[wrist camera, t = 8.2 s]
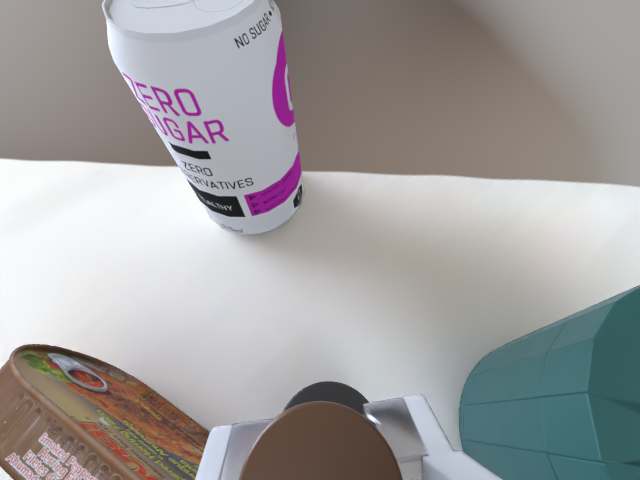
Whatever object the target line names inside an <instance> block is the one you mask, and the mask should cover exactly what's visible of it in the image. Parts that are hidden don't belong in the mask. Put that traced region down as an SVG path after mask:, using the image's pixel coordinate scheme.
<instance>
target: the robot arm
mask: <svg viewBox="0 0 640 480" xmlns="http://www.w3.org/2000/svg"><path fill="white" fill-rule="evenodd" d="M363 415H364V417H365V418H367V419H368V420H369V421H370V422H371V423H372V424H373V425H374V426H375V427H376V428H377V429H378V430H379V431H380V432H381V434H382V435H383V436H384V438H385V439H386V441H387V442H388V444H389V446H390V447H391V449H392V451H393V453H394V455H395V457H396V460H397V462H398V465H399V468H400V471H401V474H402V478H403V480H502V479H501V478H500V477H498V476H497V475H495V474H494V473H492V472H491V471H490V470H488V469H487V468H485V467H484V466H482V465H481V464H480V463H478V462H477V461H475V460H474V459H472V458H471V457H469V456H468V455H467V454H465V453H464V452H462V451H455V452H454V450H453V448H452V446H451V444H450V442H449V441H448V439H447V437H446V435H445V433H444V431H443V429H442V428H441V426H440V424H439V422H438V420H437V418H436V416H435V415H434V413H433V411H432V409H431V407H430V405H429V403H428V402H427V400H426V398H425V396H424V395H422V394H417V395H411V396H406V397H402V398H395V399H389V400H383V401H377V402H371V403H366V404H363ZM273 419H274V418H273ZM273 419H266V420H258V421H251V422H243V423H236V424H233V425H225V426H217V427H213V429H212V430H211V432H210V433H209V437H208V440H207V443H206V446H205V449H204V453H203V456H202V459H201V462H200V465H199V469H198V472H197V475H196V478H195V480H239V476H240V473H241V469H242V466H243V463H244V461H245V458H246V456H247V454H248V452H249V450H250V448H251V446H252V444H253V442H254V441H255V439H256V438H257V437H258V435H259V434H260V432H261V431H262V430H263V429H264V428H265V427H266V426H267V425H268V423H270V422H271V421H272V420H273Z"/></svg>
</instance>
